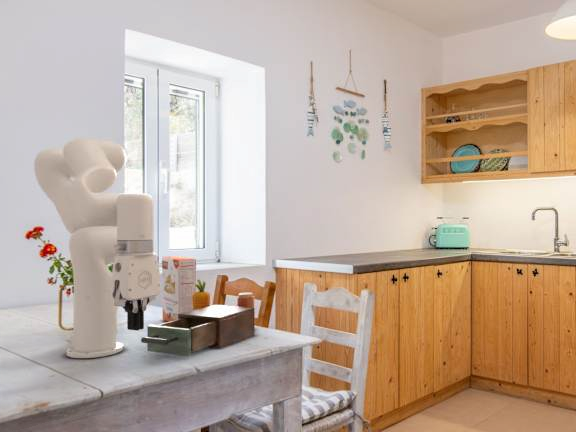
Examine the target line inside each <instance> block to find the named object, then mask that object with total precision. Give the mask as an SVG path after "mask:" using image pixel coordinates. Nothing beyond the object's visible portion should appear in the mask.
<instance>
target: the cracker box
mask: <svg viewBox="0 0 576 432" xmlns="http://www.w3.org/2000/svg"><path fill="white" fill-rule="evenodd" d="M161 268H162V269H161V275H162V276H161V277H162V278H161V280H162V281H161V282H162V285H161V287H162V289H161V290H162V295H161V296H162V320H163V321H164V322H170V321H174V320H178V314H180V313H184V312H188V311H192V310H193V294H194V293H195V292H197V287H196V286H195V284H197V259H196V258H192V257H187V256H182V255H167V256H162V257H161Z"/></svg>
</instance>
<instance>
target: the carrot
mask: <svg viewBox="0 0 576 432" xmlns="http://www.w3.org/2000/svg"><path fill="white" fill-rule="evenodd" d="M196 282H197V283H196V284H195V286H196V289H197V290H198V291H196V292H195V293H194V294H193V310H196V309H200V308H204V307H208V306H211V294H210V292H209V291H205V289H206V284H207V282H206V281H204V280H203V281H201V279H196Z"/></svg>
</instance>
